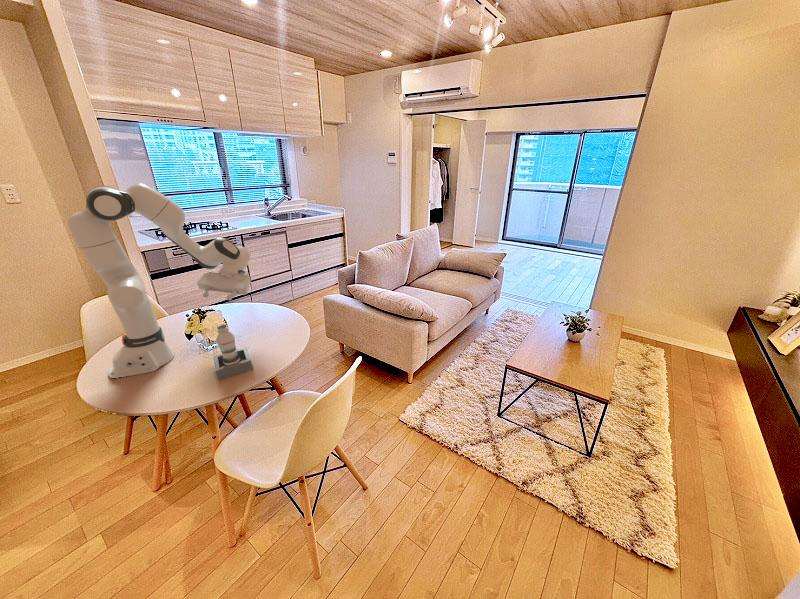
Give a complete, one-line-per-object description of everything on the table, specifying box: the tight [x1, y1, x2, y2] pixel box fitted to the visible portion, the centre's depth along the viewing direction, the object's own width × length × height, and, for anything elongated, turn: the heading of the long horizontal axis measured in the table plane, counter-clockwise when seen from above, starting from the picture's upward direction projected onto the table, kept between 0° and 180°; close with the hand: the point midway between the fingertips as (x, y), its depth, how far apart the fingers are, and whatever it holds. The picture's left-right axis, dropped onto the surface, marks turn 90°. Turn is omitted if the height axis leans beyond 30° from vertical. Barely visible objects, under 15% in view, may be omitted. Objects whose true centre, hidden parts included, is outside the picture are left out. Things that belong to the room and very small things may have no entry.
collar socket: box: [212, 346, 254, 381], centre depth 133 cm, size 13×12×4 cm
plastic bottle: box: [215, 324, 242, 366], centre depth 128 cm, size 6×7×20 cm
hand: (216, 297), depth 133 cm, fingers open, 8 cm apart
